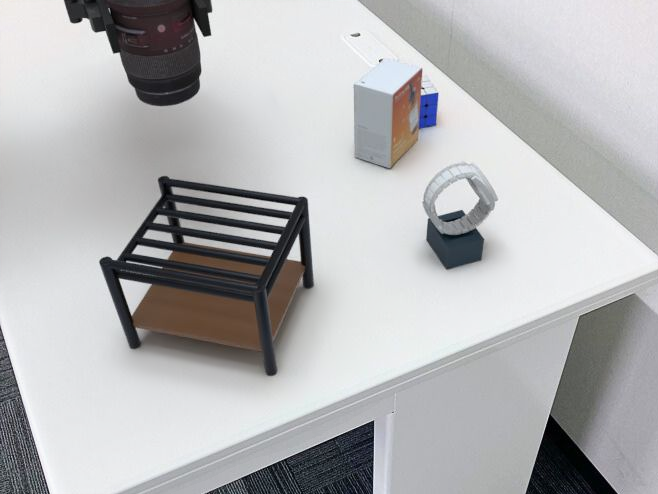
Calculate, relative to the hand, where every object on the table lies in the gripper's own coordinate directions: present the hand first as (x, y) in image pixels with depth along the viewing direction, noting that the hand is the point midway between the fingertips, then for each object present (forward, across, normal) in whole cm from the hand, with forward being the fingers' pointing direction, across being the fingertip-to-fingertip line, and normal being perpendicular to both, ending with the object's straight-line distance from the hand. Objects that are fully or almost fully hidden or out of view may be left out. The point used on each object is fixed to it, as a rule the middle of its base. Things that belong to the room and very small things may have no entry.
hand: (160, 30), depth 68 cm
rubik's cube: (-14, -33, -25) cm, 44 cm away
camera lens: (-5, 0, -9) cm, 10 cm away
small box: (-9, -27, -25) cm, 38 cm away
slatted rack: (+13, +1, -25) cm, 28 cm away
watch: (+13, -26, -25) cm, 39 cm away
